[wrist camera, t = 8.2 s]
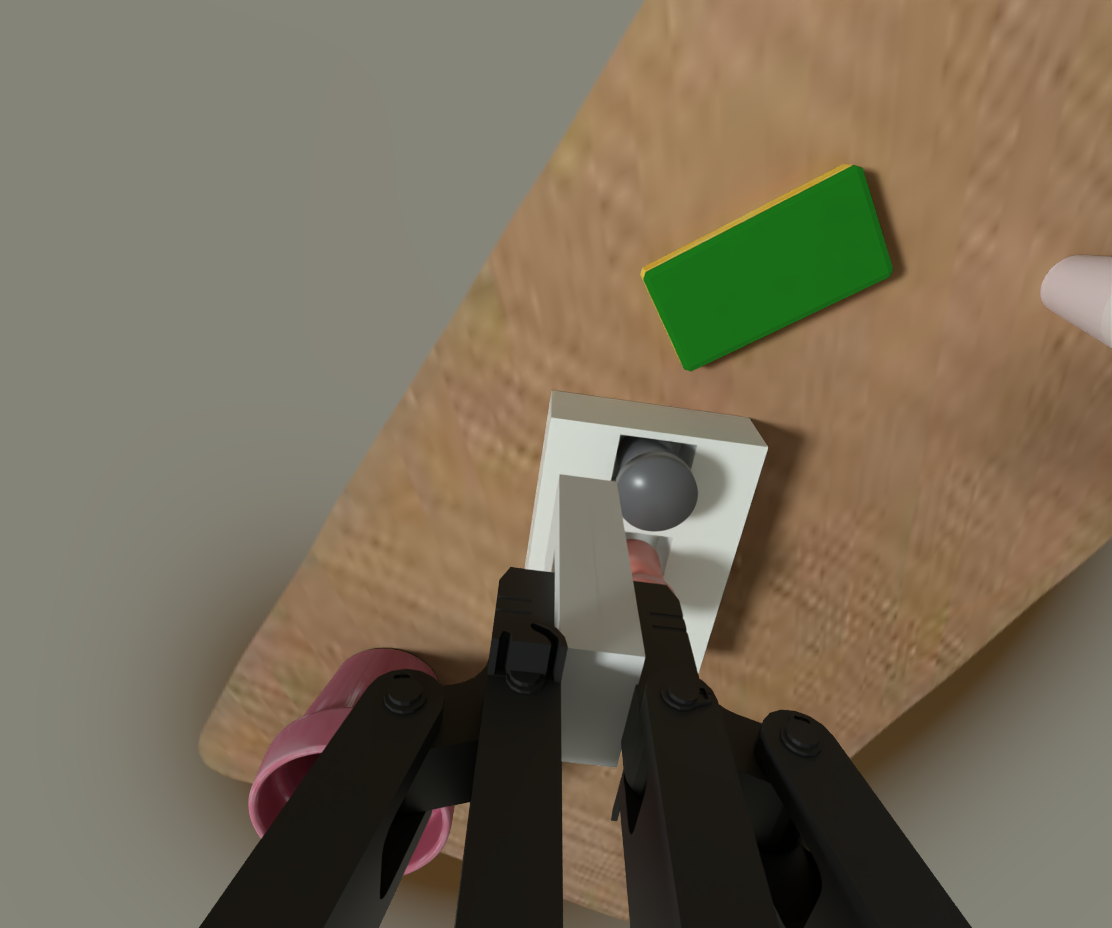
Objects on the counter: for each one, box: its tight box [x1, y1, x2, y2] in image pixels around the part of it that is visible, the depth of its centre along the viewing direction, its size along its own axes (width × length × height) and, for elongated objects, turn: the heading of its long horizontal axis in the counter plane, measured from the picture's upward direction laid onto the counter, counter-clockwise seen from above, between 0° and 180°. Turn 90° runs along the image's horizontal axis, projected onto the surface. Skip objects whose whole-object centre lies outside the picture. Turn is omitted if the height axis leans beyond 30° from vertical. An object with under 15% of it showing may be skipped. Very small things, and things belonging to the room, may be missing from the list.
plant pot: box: [249, 649, 455, 875], centre depth 54 cm, size 14×14×13 cm
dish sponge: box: [640, 164, 893, 371], centre depth 43 cm, size 7×14×2 cm, turn 117°
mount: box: [525, 390, 768, 673], centre depth 50 cm, size 14×20×5 cm
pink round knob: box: [626, 539, 676, 596], centre depth 45 cm, size 5×5×6 cm
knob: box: [616, 435, 698, 532], centre depth 45 cm, size 5×5×6 cm
